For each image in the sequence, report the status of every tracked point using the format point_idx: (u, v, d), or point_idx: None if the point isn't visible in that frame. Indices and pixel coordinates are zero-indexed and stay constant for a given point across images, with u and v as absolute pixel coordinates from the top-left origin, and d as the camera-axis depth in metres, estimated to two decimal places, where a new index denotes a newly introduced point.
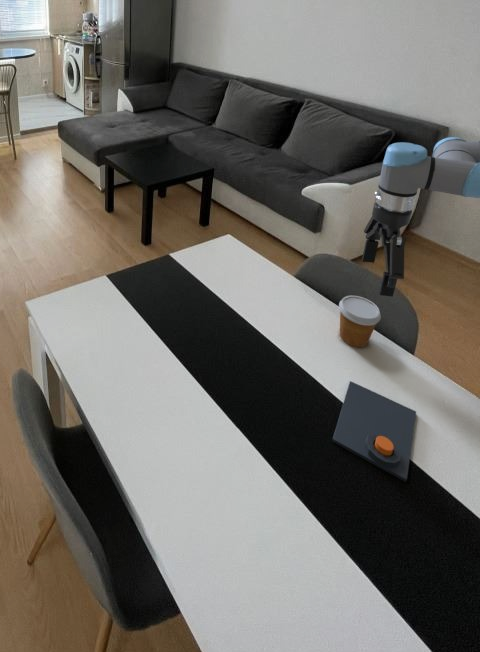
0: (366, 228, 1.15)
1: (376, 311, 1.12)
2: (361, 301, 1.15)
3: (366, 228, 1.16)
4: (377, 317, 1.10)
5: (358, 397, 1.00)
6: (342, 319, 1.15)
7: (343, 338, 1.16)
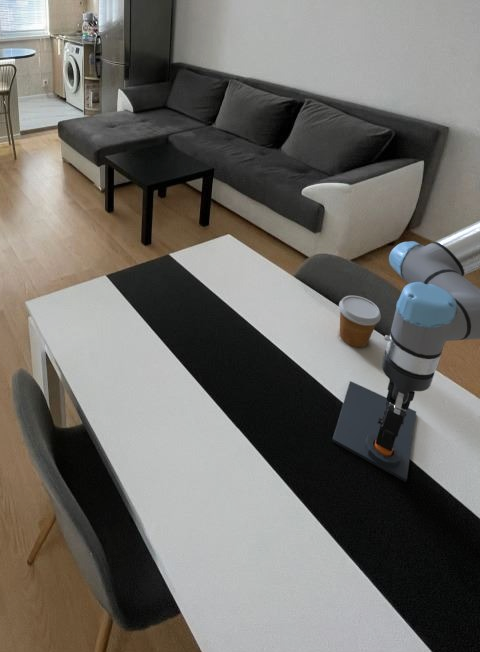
0: None
1: (376, 311, 1.12)
2: (361, 301, 1.15)
3: None
4: (377, 317, 1.10)
5: (358, 397, 1.00)
6: (342, 319, 1.15)
7: (343, 338, 1.16)
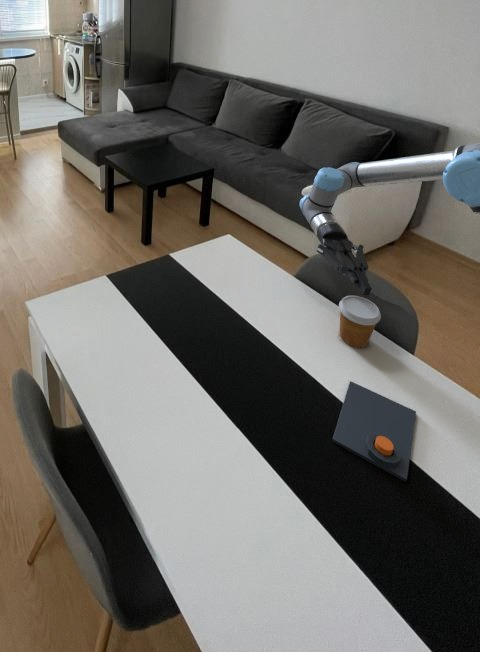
0: None
1: (376, 311, 1.12)
2: (361, 301, 1.15)
3: None
4: (377, 317, 1.10)
5: (358, 397, 1.00)
6: (342, 319, 1.15)
7: (343, 338, 1.16)
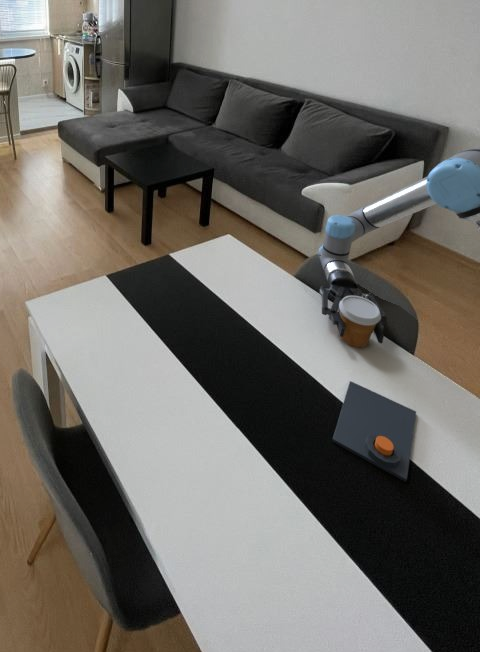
0: None
1: (376, 311, 1.12)
2: (361, 301, 1.15)
3: None
4: (377, 317, 1.10)
5: (358, 397, 1.00)
6: (342, 319, 1.15)
7: (343, 338, 1.16)
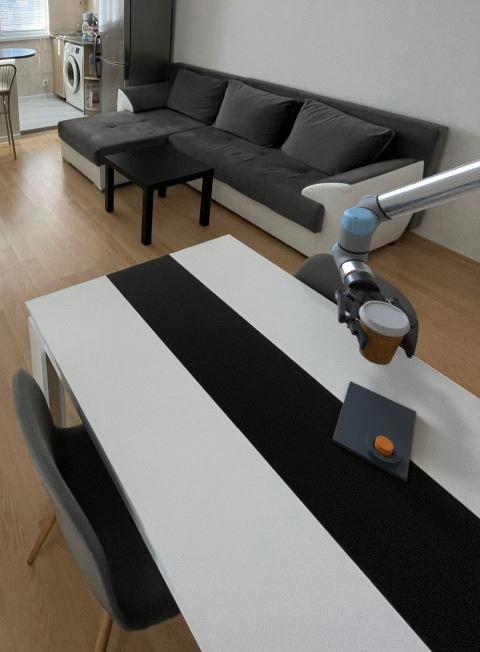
0: None
1: (404, 320, 0.94)
2: (386, 307, 0.98)
3: None
4: (406, 327, 0.92)
5: (358, 397, 1.00)
6: (363, 329, 0.97)
7: (364, 351, 0.99)
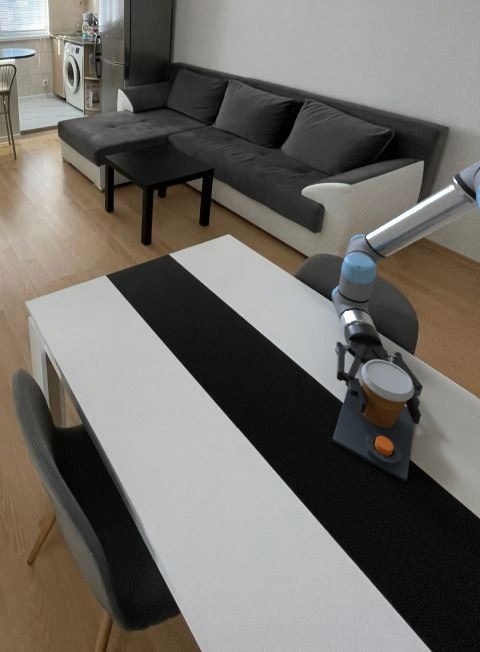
0: None
1: (408, 382, 0.90)
2: (389, 367, 0.94)
3: None
4: (410, 391, 0.88)
5: None
6: (365, 390, 0.93)
7: (366, 412, 0.95)
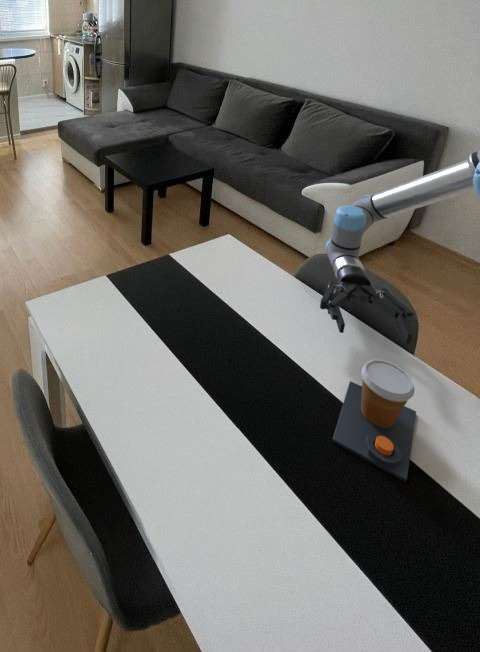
0: None
1: (408, 382, 0.90)
2: (389, 367, 0.94)
3: None
4: (410, 391, 0.88)
5: (358, 397, 1.00)
6: (365, 390, 0.93)
7: (366, 412, 0.95)
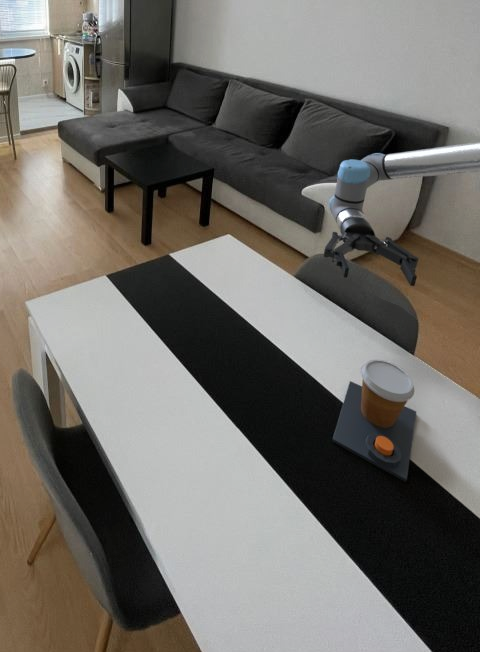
0: None
1: (408, 383, 0.90)
2: (389, 367, 0.94)
3: None
4: (410, 391, 0.88)
5: (358, 397, 1.00)
6: (365, 390, 0.93)
7: (366, 412, 0.95)
